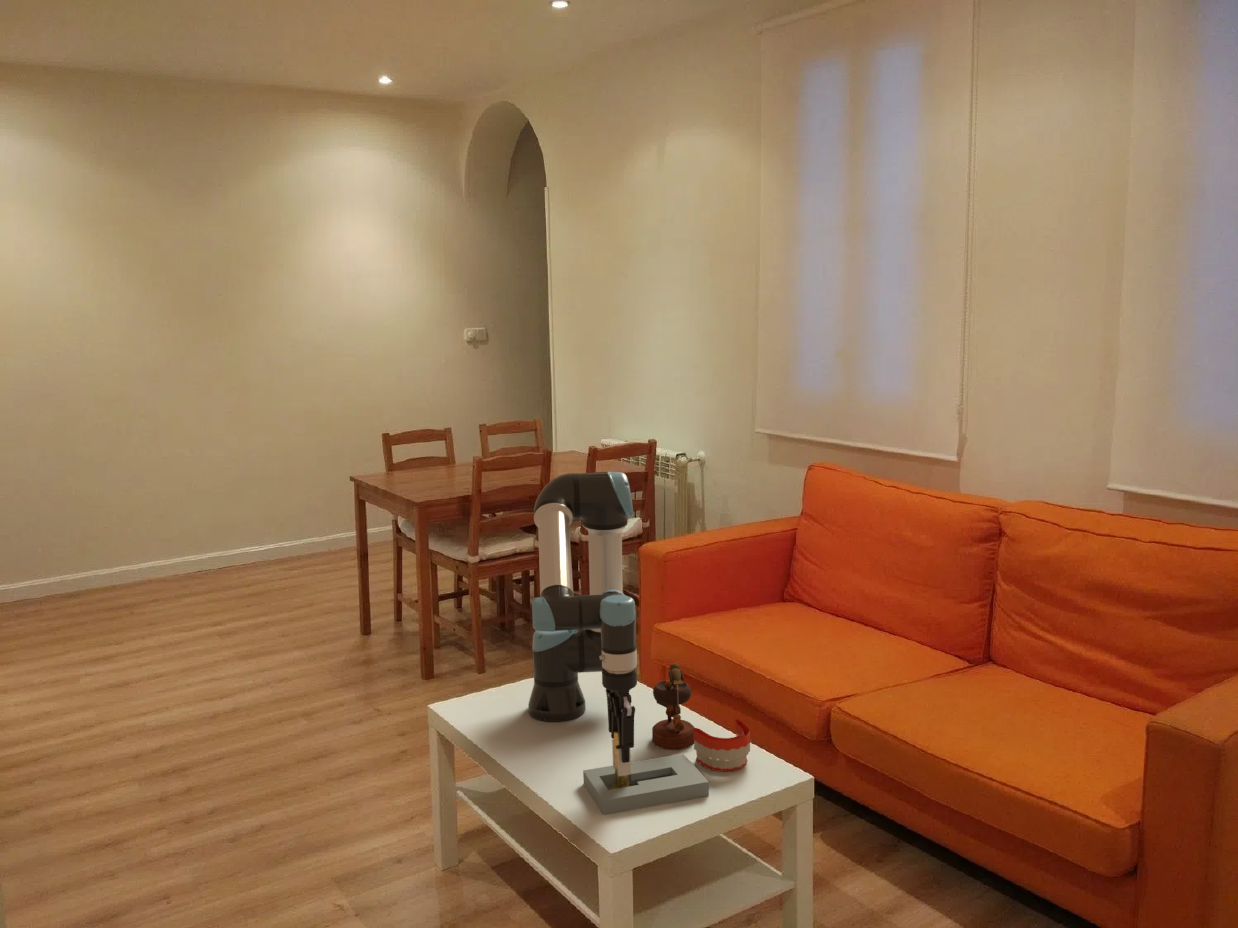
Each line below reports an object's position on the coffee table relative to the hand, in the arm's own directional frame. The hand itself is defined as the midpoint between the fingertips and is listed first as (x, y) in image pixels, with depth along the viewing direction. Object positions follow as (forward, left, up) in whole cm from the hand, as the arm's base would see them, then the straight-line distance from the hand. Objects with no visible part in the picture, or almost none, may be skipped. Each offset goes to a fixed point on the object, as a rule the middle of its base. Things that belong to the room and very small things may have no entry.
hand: (621, 770), depth 221 cm
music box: (-22, +20, -6) cm, 31 cm away
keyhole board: (0, +5, -5) cm, 8 cm away
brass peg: (0, 0, -5) cm, 5 cm away
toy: (-5, +27, -6) cm, 28 cm away
